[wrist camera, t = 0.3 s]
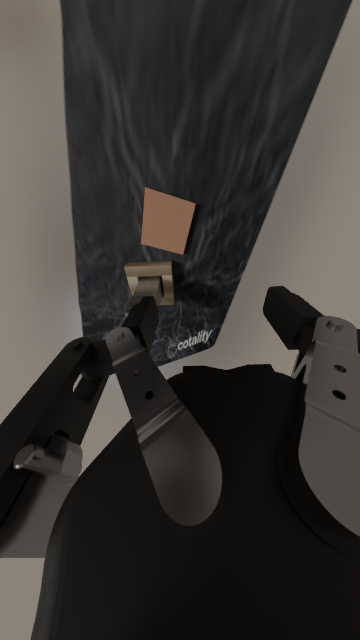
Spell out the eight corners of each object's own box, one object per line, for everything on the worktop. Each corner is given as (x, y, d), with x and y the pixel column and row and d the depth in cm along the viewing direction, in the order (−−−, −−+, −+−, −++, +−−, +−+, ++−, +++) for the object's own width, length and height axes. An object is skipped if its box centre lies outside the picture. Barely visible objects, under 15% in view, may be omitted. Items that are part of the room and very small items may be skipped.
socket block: (127, 262, 30) (124, 267, 28) (171, 260, 30) (171, 265, 28) (137, 300, 36) (135, 305, 34) (174, 298, 36) (174, 304, 34)
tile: (146, 187, 23) (145, 187, 22) (195, 203, 24) (195, 203, 24) (141, 242, 28) (141, 243, 27) (182, 253, 29) (183, 254, 29)
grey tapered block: (142, 273, 32) (124, 313, 21) (160, 273, 32) (152, 312, 21) (145, 290, 34) (131, 333, 24) (162, 289, 34) (156, 332, 24)
